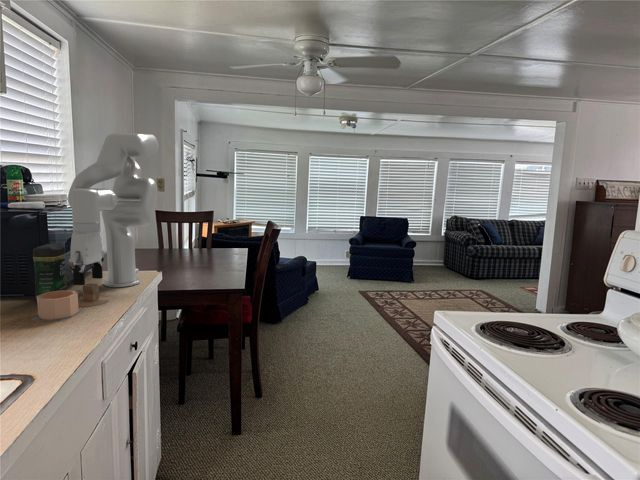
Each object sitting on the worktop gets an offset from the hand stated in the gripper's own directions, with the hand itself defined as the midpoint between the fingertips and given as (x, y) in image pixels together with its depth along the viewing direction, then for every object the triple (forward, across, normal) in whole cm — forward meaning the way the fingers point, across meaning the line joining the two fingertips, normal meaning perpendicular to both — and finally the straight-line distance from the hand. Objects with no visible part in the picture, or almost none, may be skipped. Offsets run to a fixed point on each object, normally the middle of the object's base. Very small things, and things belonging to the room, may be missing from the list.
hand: (88, 281), depth 128 cm
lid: (+8, -1, 0) cm, 8 cm away
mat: (+8, +12, -2) cm, 14 cm away
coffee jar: (+7, -3, -14) cm, 16 cm away
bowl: (+7, +12, -2) cm, 14 cm away
